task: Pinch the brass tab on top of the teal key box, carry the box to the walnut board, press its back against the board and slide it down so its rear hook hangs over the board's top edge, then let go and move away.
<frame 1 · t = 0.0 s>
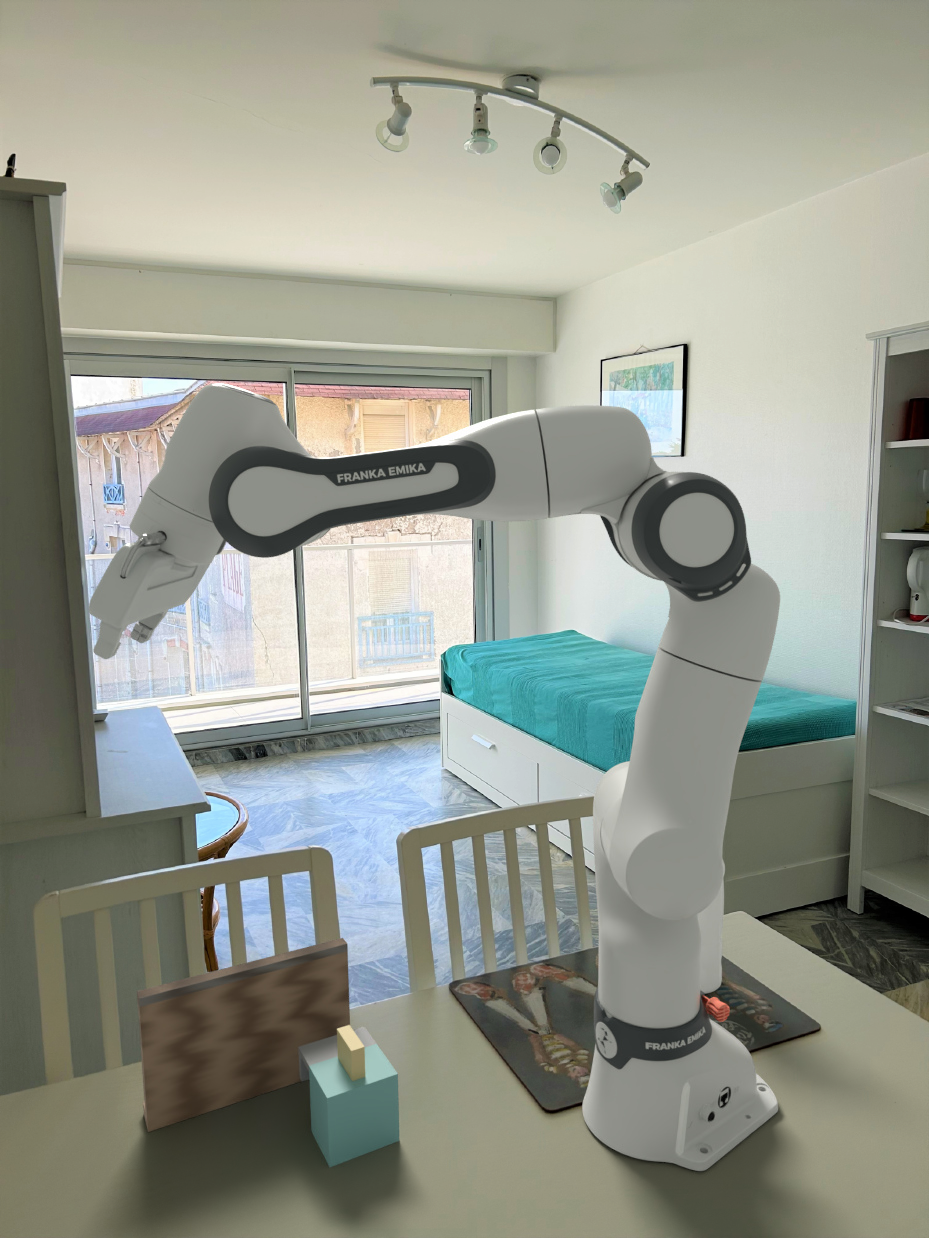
hand: (121, 647, 92), 54 cm above the table, tool tilted 30°, fingers open, 8 cm apart
water bottle: (695, 983, 126), on the table
key box: (355, 1136, 97), on the table
wall board: (253, 1092, 104), on the table
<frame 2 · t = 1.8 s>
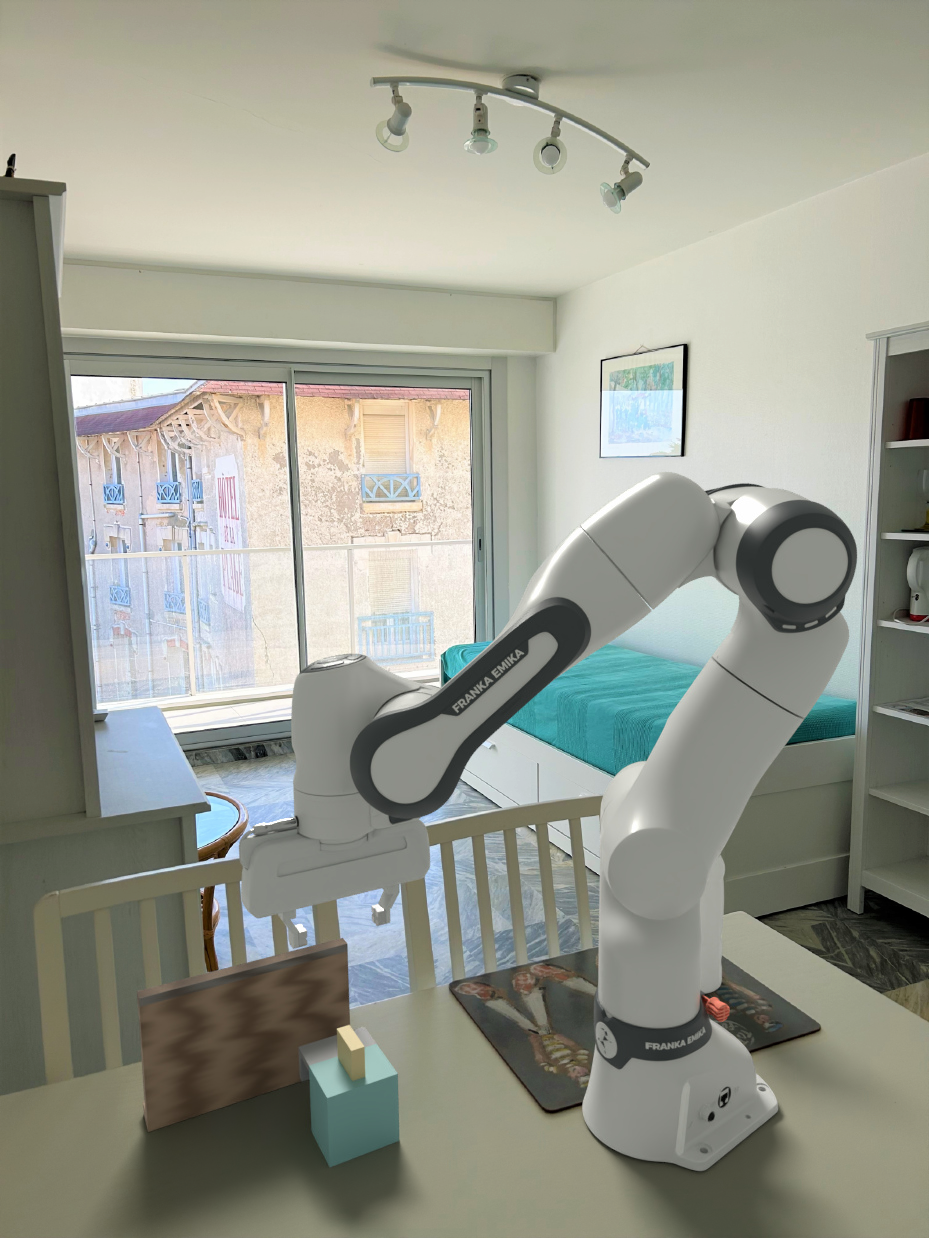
hand: (340, 933, 94), 24 cm above the table, tool pointing down, fingers open, 8 cm apart
nothing on the table moved.
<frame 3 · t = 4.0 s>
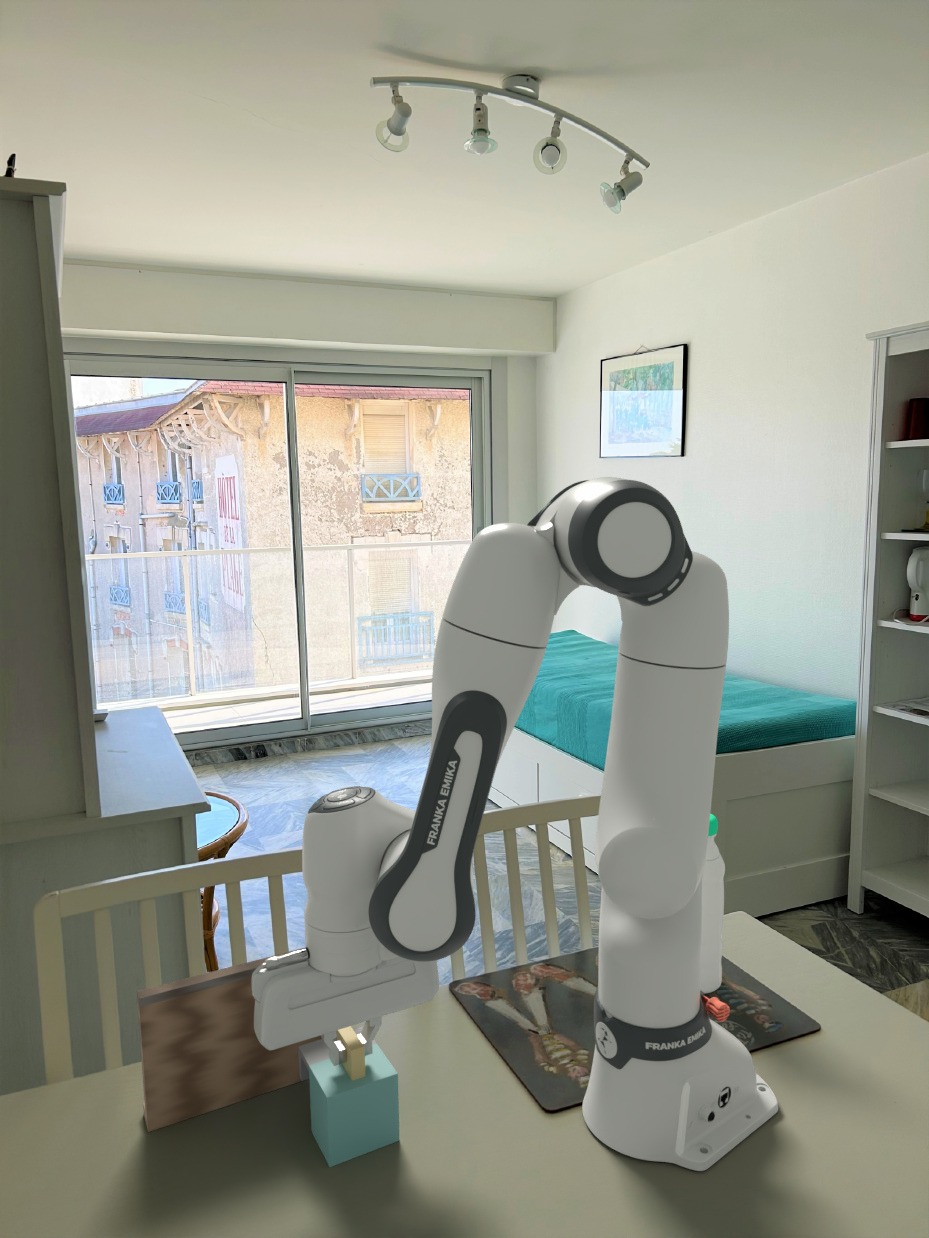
hand: (351, 1057, 96), 9 cm above the table, tool pointing down, fingers closed on key box
key box: (355, 1135, 97), on the table, touching gripper
everything else where it was.
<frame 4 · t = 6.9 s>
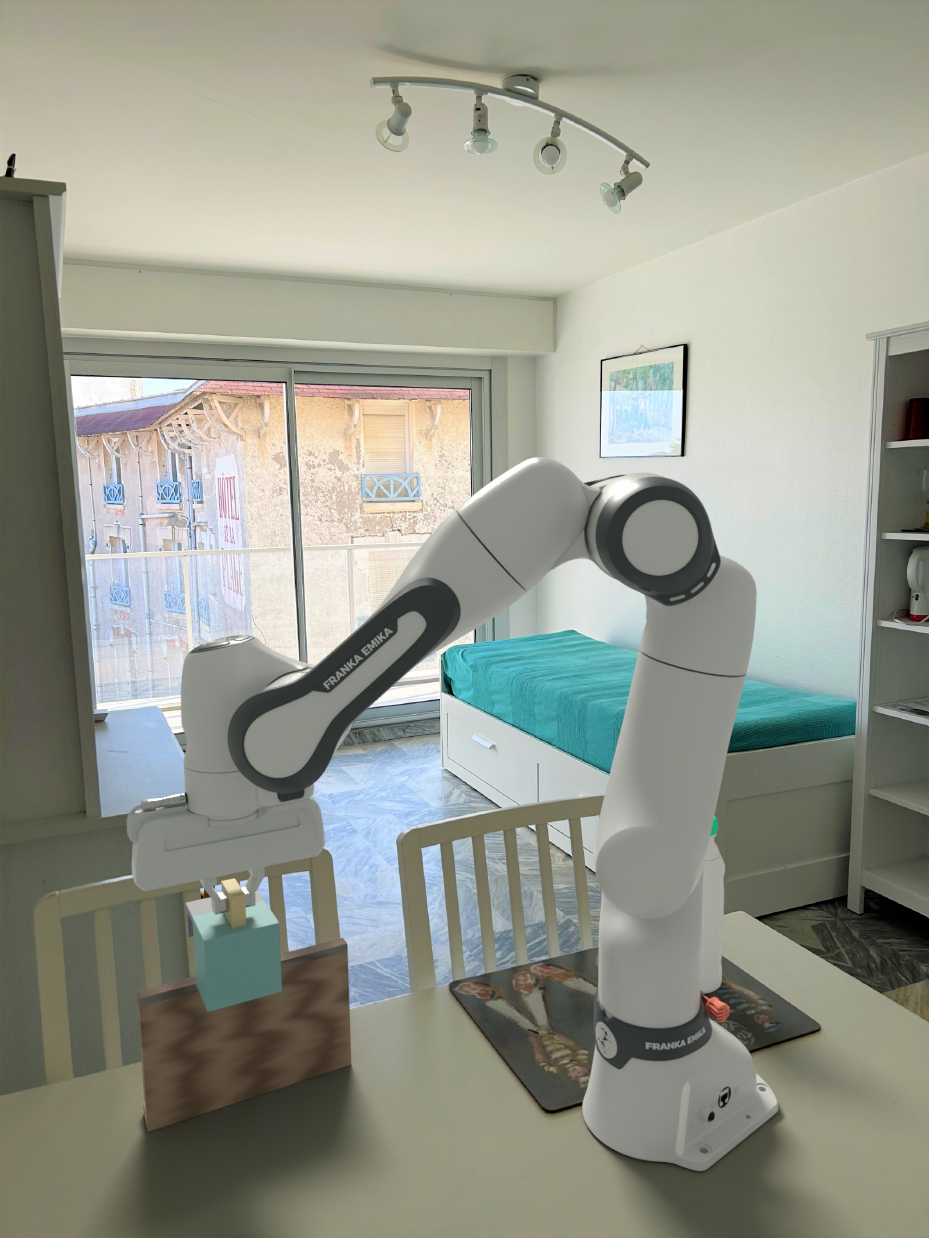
hand: (234, 908, 96), 25 cm above the table, tool pointing down, fingers closed on key box
key box: (238, 987, 97), point 16 cm above the table, touching gripper
everything else where it was.
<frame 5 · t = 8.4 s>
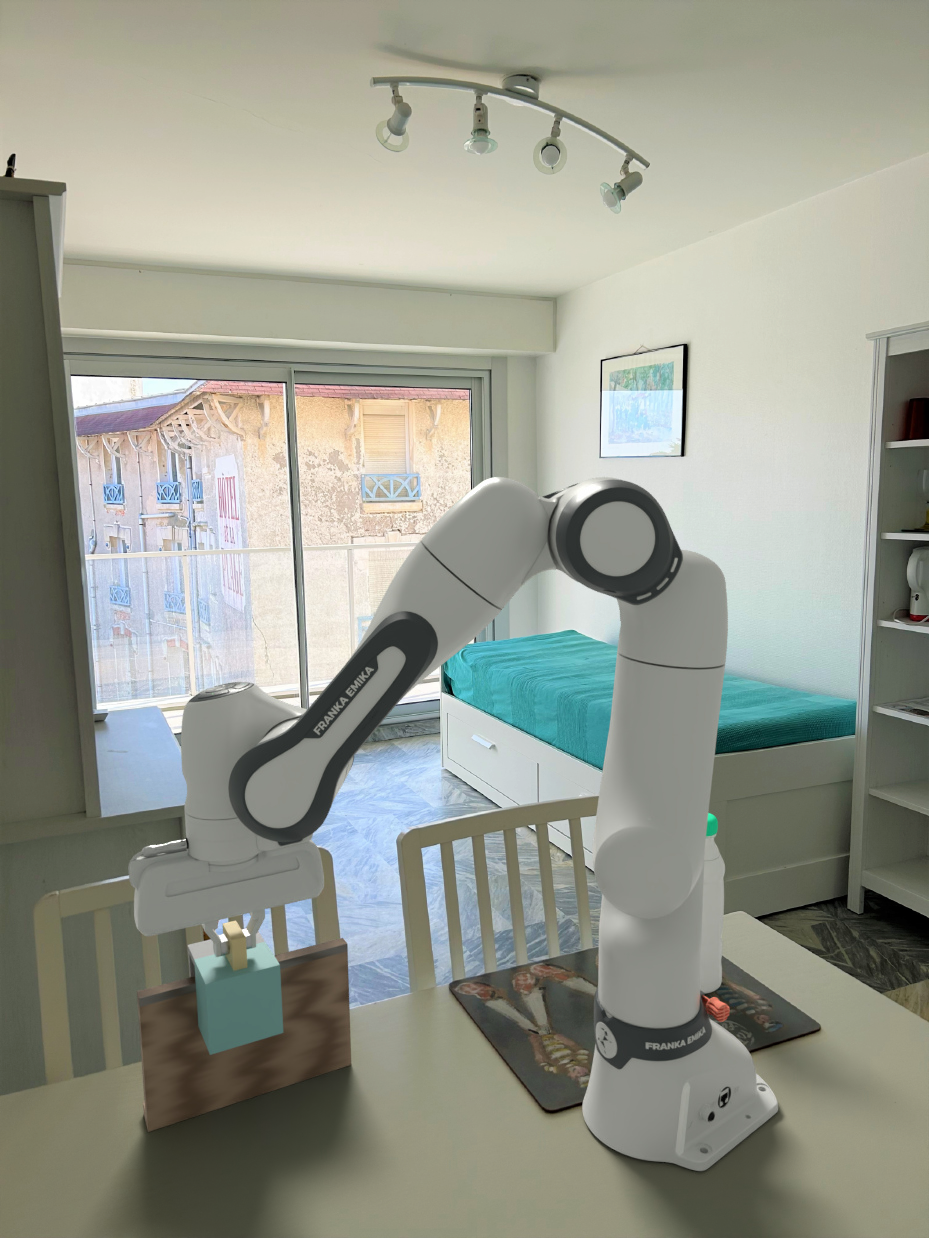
hand: (235, 950, 98), 20 cm above the table, tool pointing down, fingers closed on key box
key box: (240, 1029, 98), point 11 cm above the table, touching gripper, wall board
everything else where it was.
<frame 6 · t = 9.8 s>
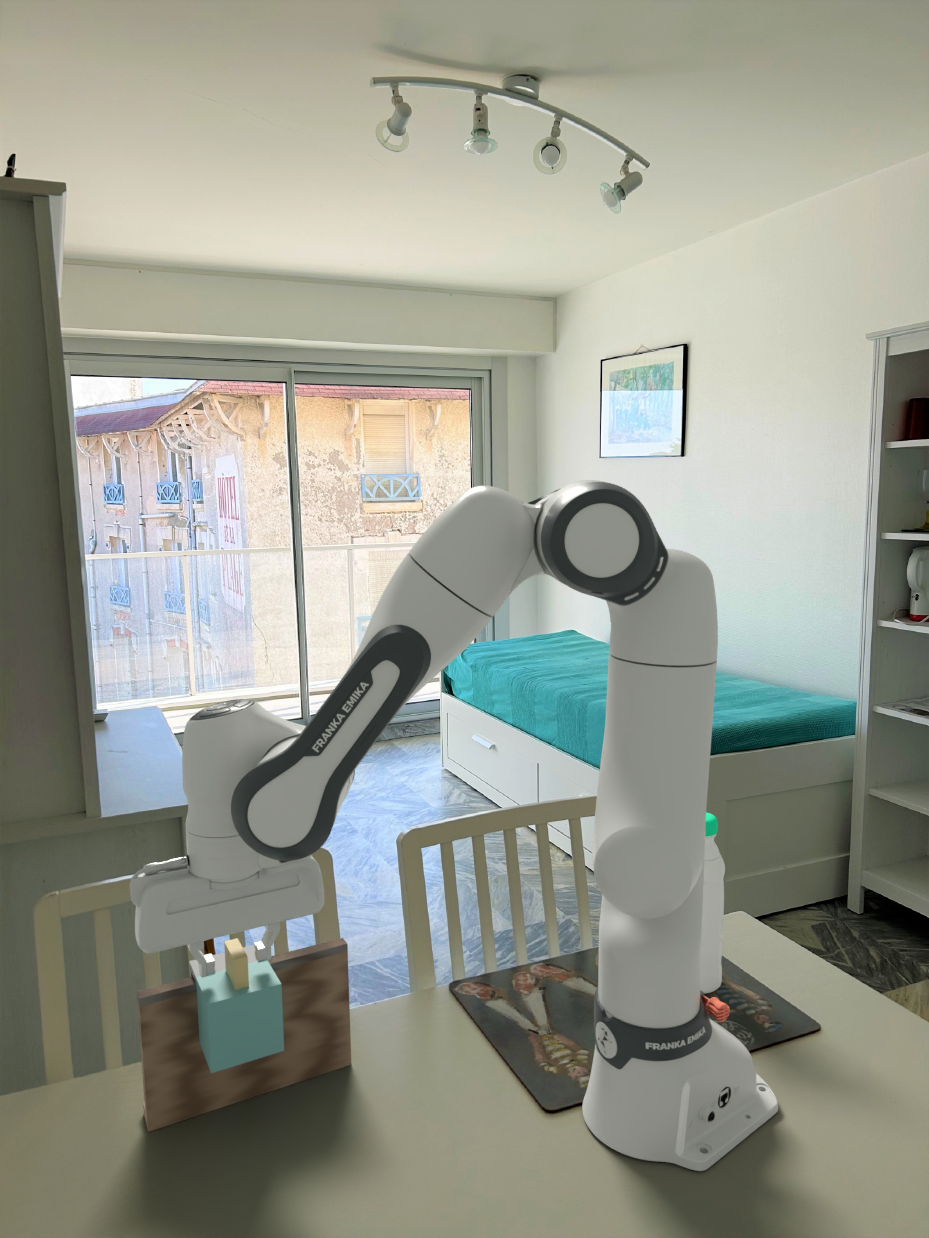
hand: (235, 966, 98), 18 cm above the table, tool pointing down, fingers open, 5 cm apart
key box: (241, 1046, 99), point 9 cm above the table, touching wall board
everything else where it was.
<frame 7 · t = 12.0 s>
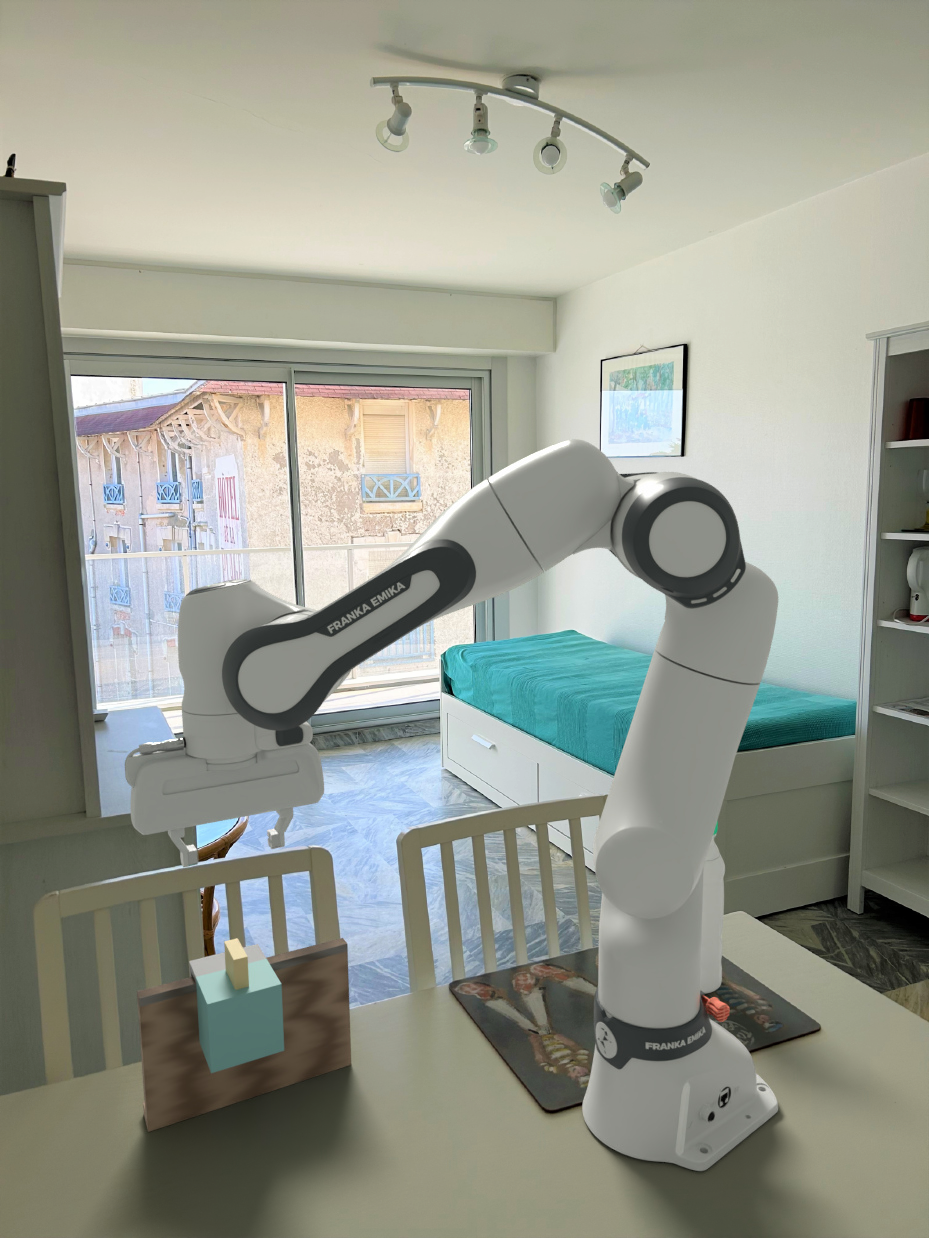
hand: (233, 855, 96), 31 cm above the table, tool pointing down, fingers open, 8 cm apart
nothing on the table moved.
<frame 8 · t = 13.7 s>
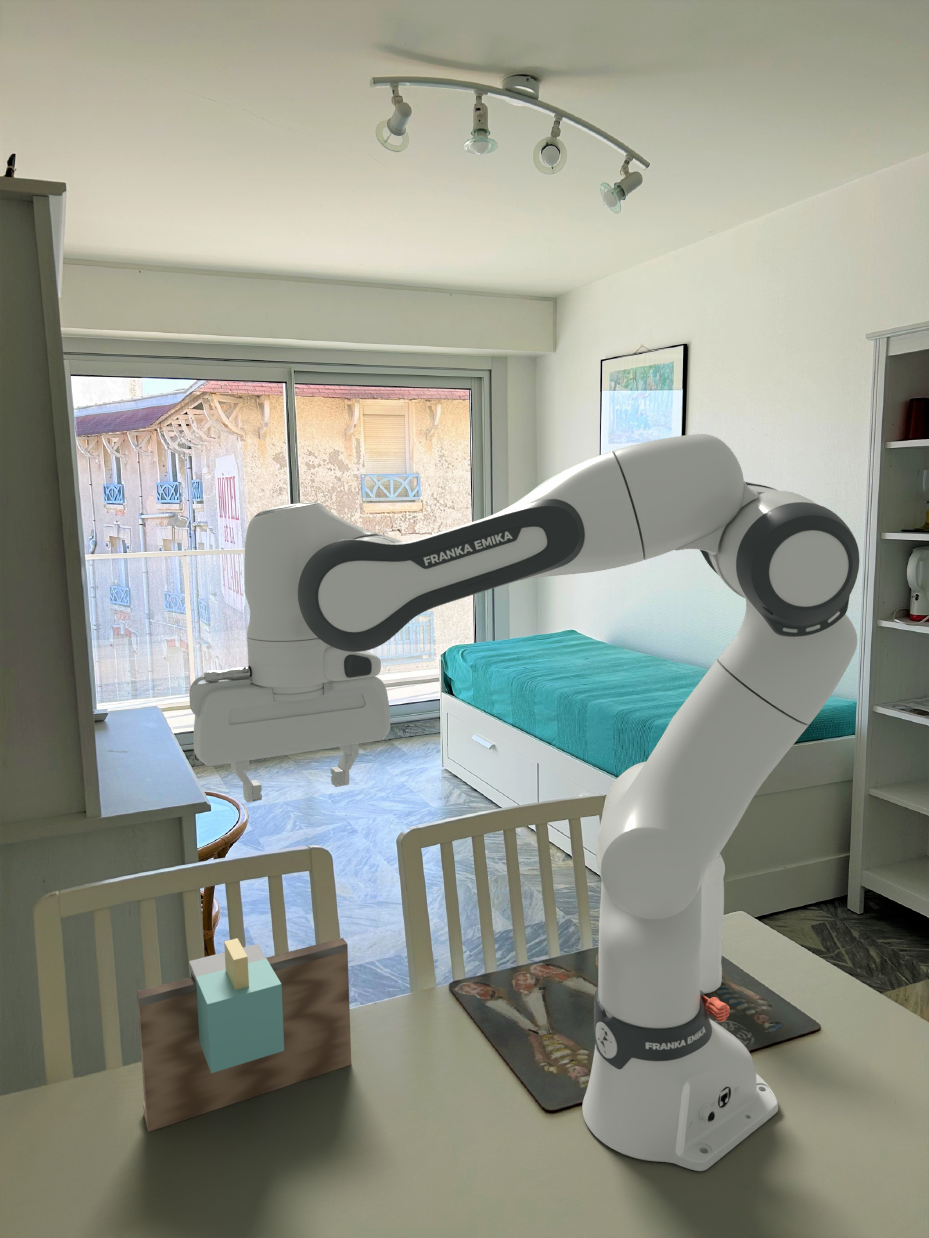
hand: (297, 792, 92), 39 cm above the table, tool pointing down, fingers open, 8 cm apart
nothing on the table moved.
at the end: key box inside the target area (0.2 cm from its centre), point 8.8 cm above the table; key box touching wall board; the gripper is holding nothing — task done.
